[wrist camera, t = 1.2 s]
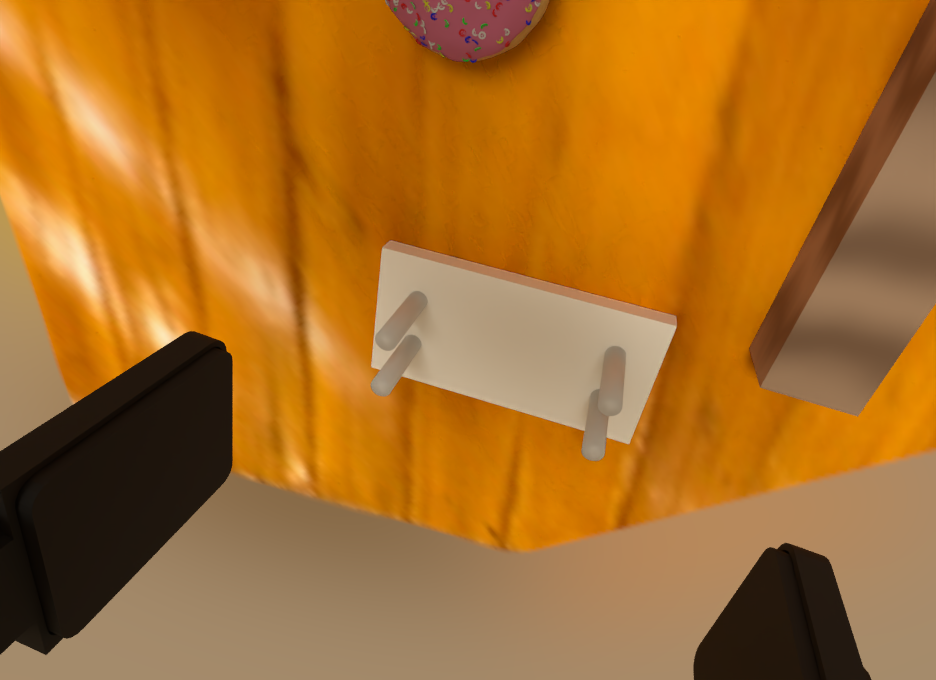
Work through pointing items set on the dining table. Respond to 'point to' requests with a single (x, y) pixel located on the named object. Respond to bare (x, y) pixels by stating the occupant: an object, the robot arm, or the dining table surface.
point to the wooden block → (864, 252)
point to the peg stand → (517, 342)
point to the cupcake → (469, 25)
